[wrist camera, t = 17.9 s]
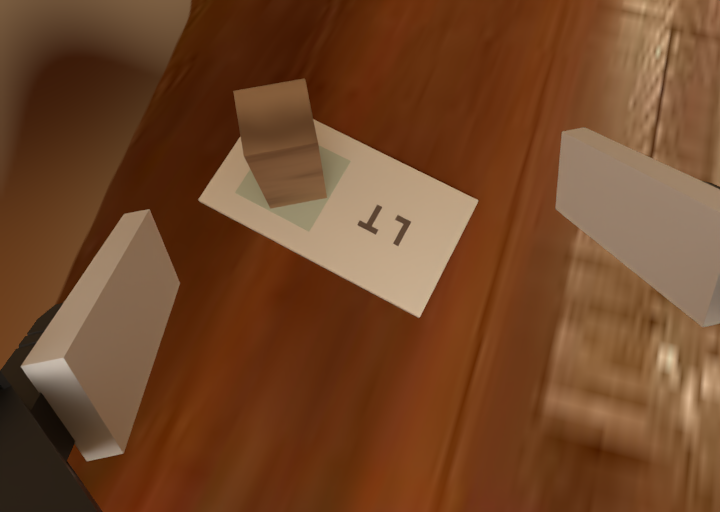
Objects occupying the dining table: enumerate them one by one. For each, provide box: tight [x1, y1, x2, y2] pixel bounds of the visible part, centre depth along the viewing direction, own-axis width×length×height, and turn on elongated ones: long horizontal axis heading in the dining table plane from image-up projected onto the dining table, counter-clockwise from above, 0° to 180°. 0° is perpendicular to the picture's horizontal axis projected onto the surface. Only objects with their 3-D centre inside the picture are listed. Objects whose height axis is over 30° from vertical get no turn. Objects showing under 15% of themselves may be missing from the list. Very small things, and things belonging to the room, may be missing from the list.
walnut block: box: [233, 79, 327, 209], centre depth 44 cm, size 6×6×12 cm
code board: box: [198, 119, 479, 318], centre depth 49 cm, size 14×26×1 cm, turn 62°
